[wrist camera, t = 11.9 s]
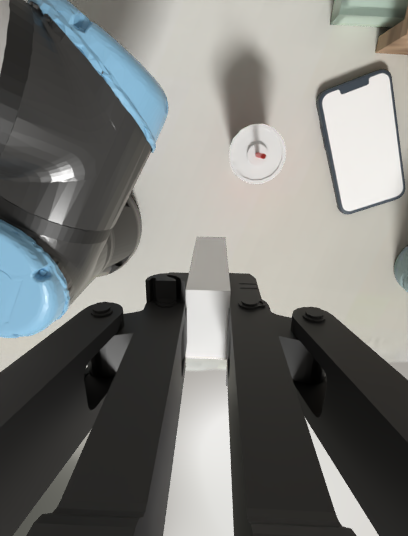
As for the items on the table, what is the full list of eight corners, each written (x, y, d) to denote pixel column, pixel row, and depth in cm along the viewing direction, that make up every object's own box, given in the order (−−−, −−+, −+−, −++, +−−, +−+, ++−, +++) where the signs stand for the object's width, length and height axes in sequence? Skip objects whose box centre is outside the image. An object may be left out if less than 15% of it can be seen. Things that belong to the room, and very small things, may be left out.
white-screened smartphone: (401, 194, 44) (385, 67, 39) (408, 196, 43) (392, 64, 37) (336, 214, 46) (312, 95, 40) (340, 217, 44) (315, 93, 39)
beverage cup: (232, 182, 44) (237, 197, 31) (221, 135, 42) (223, 129, 29) (276, 170, 43) (302, 181, 30) (268, 122, 41) (291, 111, 28)
